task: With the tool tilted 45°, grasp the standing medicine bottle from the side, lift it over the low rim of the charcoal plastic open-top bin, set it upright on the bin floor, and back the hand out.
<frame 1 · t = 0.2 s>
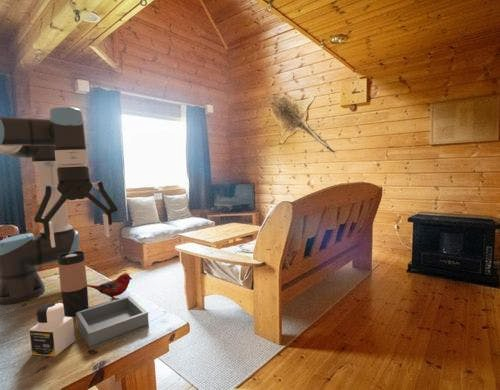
hand: (81, 241, 85), 28 cm above the table, tool pointing down, fingers open, 13 cm apart
travel mug: (76, 312, 101), on the table
open-top bin: (112, 326, 91), on the table
decorative bird figurine: (110, 300, 109), on the table
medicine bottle: (54, 348, 81), on the table
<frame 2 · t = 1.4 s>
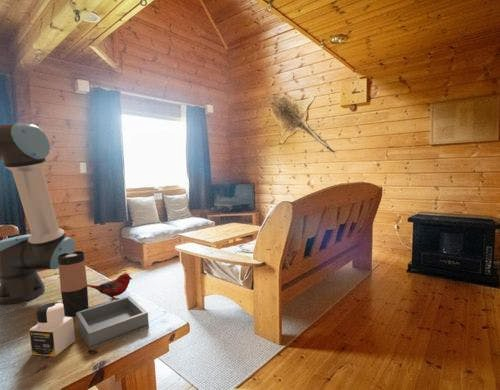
nothing on the table moved.
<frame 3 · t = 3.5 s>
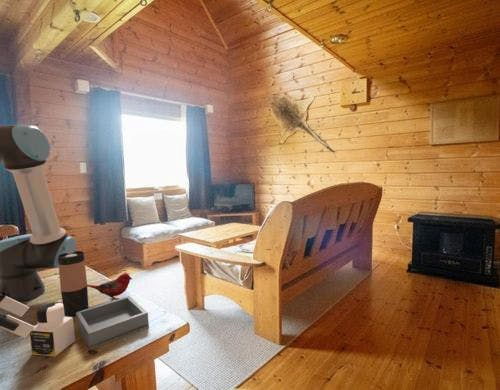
hand: (27, 321, 76), 10 cm above the table, tool tilted 45°, fingers open, 13 cm apart
nothing on the table moved.
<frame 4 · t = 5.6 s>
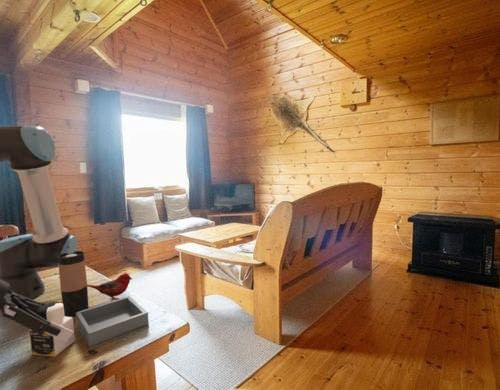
hand: (65, 328, 83), 4 cm above the table, tool tilted 45°, fingers closed on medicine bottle, 10 cm apart
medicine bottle: (54, 348, 81), on the table, touching gripper
everything else where it was.
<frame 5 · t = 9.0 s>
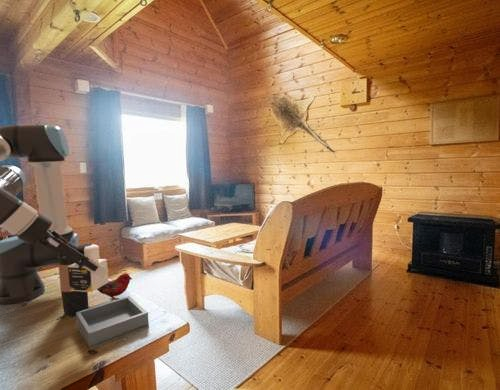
hand: (100, 269, 87), 19 cm above the table, tool tilted 45°, fingers closed on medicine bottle, 10 cm apart
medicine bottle: (89, 287, 85), point 14 cm above the table, touching gripper
everything else where it was.
when the fingers open (7 cm above the table, at t = 12.4 s): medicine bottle drops 1 cm, resting on open-top bin.
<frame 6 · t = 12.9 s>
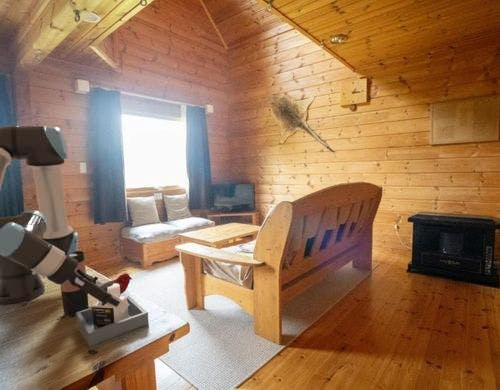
hand: (118, 300, 92), 7 cm above the table, tool tilted 45°, fingers open, 13 cm apart
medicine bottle: (111, 323, 91), point 1 cm above the table, touching open-top bin
everything else where it was.
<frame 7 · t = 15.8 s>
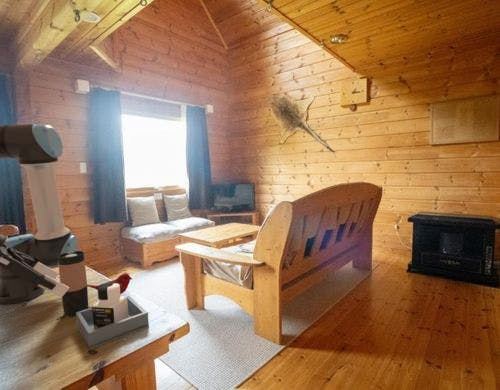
hand: (60, 284, 81), 17 cm above the table, tool tilted 45°, fingers open, 13 cm apart
nothing on the table moved.
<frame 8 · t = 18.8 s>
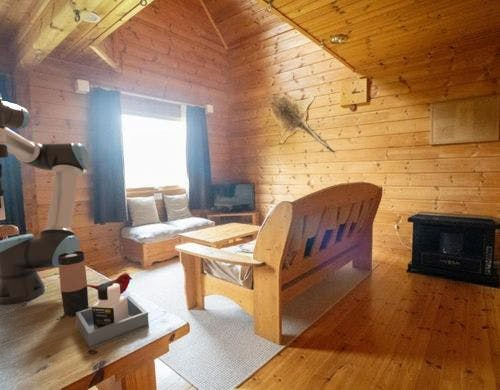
nothing on the table moved.
at the end: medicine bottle inside the target area on the open-top bin (0.3 cm from its centre), point 0.8 cm above the open-top bin's base; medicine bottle tilted 0°; the gripper is holding nothing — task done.
